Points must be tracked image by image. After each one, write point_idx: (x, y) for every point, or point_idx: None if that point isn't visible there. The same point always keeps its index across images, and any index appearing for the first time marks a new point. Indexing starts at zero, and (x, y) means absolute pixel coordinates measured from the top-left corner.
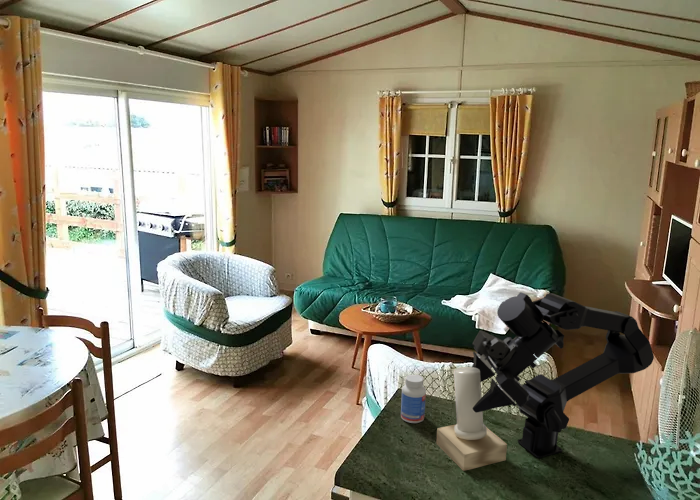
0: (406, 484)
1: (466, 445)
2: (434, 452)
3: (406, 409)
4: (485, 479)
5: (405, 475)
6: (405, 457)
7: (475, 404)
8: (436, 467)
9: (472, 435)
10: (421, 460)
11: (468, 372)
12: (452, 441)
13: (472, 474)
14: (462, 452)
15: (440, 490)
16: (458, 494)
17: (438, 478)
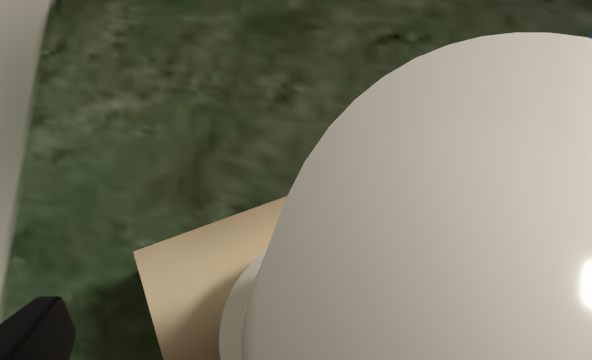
0: (98, 21)
1: (216, 284)
2: (303, 160)
3: (588, 36)
4: (94, 344)
5: (152, 24)
6: (268, 38)
7: (26, 332)
8: (194, 148)
9: (221, 323)
10: (245, 96)
11: (466, 350)
12: (257, 215)
13: (134, 293)
14: (154, 246)
15: (48, 136)
16: (15, 201)
17: (121, 143)
